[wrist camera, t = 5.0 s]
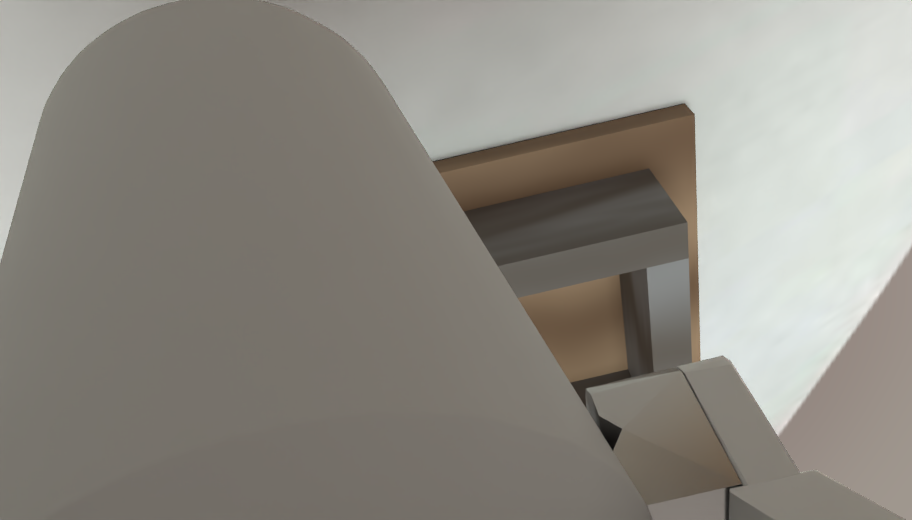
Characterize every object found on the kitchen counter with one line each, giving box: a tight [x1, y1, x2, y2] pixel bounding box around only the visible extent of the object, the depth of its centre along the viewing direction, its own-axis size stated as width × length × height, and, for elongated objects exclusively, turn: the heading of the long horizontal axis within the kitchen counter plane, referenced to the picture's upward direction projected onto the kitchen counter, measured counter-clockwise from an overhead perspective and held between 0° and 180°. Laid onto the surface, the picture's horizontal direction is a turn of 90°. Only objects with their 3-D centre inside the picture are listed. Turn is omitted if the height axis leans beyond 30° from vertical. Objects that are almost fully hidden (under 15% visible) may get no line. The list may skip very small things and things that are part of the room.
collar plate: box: [433, 104, 700, 409], centre depth 33 cm, size 15×15×5 cm
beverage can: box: [0, 0, 652, 520], centre depth 11 cm, size 6×6×12 cm
